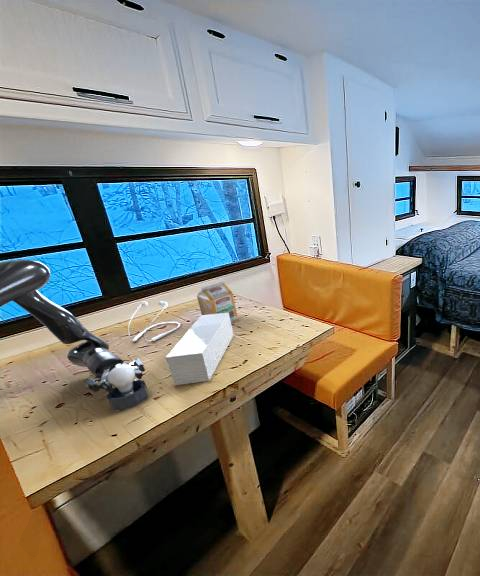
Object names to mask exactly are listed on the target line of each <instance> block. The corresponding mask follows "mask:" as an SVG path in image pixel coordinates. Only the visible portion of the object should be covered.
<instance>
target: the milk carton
mask: <svg viewBox="0 0 480 576" xmlns="http://www.w3.org/2000/svg"><path fill="white" fill-rule="evenodd" d="M196 298H197V302H198V306H199V309H200V314H201V315H209V314H219V313H229V316H230V321H231V324H233V323H236V322H238V321H239V317H238V312H237V308H236V303H235V298H234V293H233V292H232V290H231V288H229V287H228V286H227V285H226V284H225V281H224V280H221V281H219V282H215V283H212V284H209V285H205V286H202V287H200V291H199V292H198V293H197V295H196Z"/></svg>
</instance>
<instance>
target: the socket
mask: <svg viewBox="0 0 480 576" xmlns="http://www.w3.org/2000/svg"><path fill="white" fill-rule="evenodd" d="M132 388H133V391H134V393H132V394H130V395H128V396H125V397H123V395H122V393H121V392H120V391H119V390H118V389H117V388H115V387H113V389H114V391H113V392H107V394H106V399H107V401H108V404H109V406H110V408H111V410H113V411H116V412H117V411H118V412H119V411H126V410H129V409H132V408H134V407H137V406H138V405H140V404H142V403H143V402H144V401H145V400H147V399H148V397H150V396H149V395H150V392H149V388H148V386H147V383H146V381H145V380H143V379H140V380H139V379H134V381H133V387H132Z"/></svg>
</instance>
